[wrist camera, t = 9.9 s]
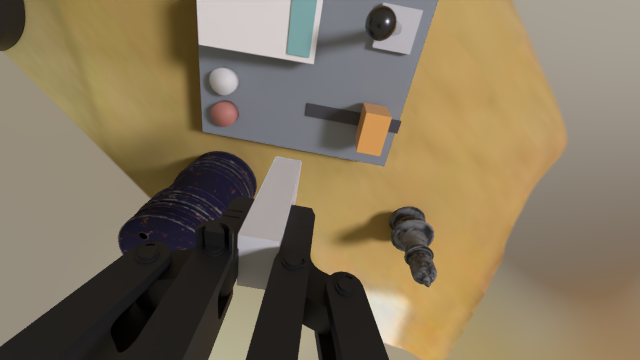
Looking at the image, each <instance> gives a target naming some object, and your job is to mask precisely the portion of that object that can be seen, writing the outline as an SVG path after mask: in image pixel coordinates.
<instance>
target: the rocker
mask: <svg viewBox="0 0 640 360" xmlns="http://www.w3.org/2000/svg"><path fill="white" fill-rule="evenodd" d="M322 4H323V0H197V19H198V40H199V45H204V46H210V47H216V48H222V49H228V50H233V51H239V52H245V53H251V54H257V55H263V56H268V57H274V58H280V59H286V60H292V61H298V62H303V63H309V64H314V59H315V52H316V45H317V38H318V32H319V25H320V18H321V11H322Z"/></svg>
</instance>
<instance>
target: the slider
mask: <svg viewBox="0 0 640 360" xmlns="http://www.w3.org/2000/svg"><path fill="white" fill-rule="evenodd" d="M391 119H392V117H391V115H390V113H389V111H388V109H387V107H385V106H380V105H375V104H370V103H365V102H364V104H363V108H362V112H361V116H360V120H359V124H358V128H357V132H356V136H355V143H356V152H360V153H365V154H370V155H375V156H380V155H381V151H382V148H383V145H384V142H385V139H386V135H387V132H388V129H389V126H390V122H391Z"/></svg>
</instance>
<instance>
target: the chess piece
mask: <svg viewBox="0 0 640 360" xmlns="http://www.w3.org/2000/svg"><path fill="white" fill-rule="evenodd" d="M389 223H390V227H391V229H392V230H393V231H392V233H391V242H392V243H393V245H394V246H395V247H396V248H397V249H399V250H401V251H404V252H405V256H404V258H405V261H406V263H407V264H408V265H409V266H410V269H411V273H412V277H413V278H414V280H415V281H416V282H418V283H419V284H424V285H425V286H427V287H429V286H430V285H431V283H432V282H433V281H434V280H435V279H436V277H437V271H436V268H435V266H434V263H433V260H432V259H433V252H432V250H431V249H430V248H428V246H429V245H430V244H431V242H432V241H433V238H434V231H433V229H432V227H431V226H430V225H429V224H428V223H426V222H425V215H424V213H423V212H422V211H421V210H419V209H418V208H415V207H403V208H400V209H398V210H396V211H395V212H394V213H393V214H392V215H391V217H390V221H389Z"/></svg>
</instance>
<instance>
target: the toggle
mask: <svg viewBox="0 0 640 360" xmlns="http://www.w3.org/2000/svg"><path fill="white" fill-rule="evenodd" d="M365 29H366V32H367V34H368V36H369V37H370V38H371V39H373V40H375V41H383V40H386V39H388V38H389V37H390V36H394V37H395V36H398V35H399V34H400V33H401V31H402V25H401V23H400V22H398V21H397V18H396V15H395V13H394V11H393V10H392V9H391V8H390V7H388V6H385V5H380V6H377V7H375V8H373V9H372V10H371V11H370V12H369V14H368V15H367V18H366V21H365Z"/></svg>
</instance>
